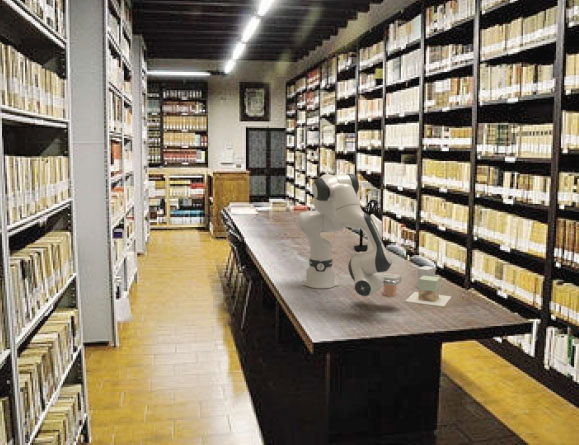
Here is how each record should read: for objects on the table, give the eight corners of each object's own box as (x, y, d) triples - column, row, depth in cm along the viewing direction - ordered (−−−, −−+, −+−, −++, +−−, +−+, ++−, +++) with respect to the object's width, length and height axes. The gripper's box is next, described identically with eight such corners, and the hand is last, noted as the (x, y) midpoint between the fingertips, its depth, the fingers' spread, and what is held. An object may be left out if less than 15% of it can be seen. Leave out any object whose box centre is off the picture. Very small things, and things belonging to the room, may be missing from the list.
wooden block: (418, 299, 263) (418, 289, 262) (422, 295, 270) (422, 285, 269) (435, 301, 259) (435, 291, 259) (438, 297, 266) (439, 287, 266)
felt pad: (405, 301, 261) (405, 300, 261) (414, 292, 277) (414, 291, 277) (444, 307, 253) (444, 306, 253) (451, 297, 269) (451, 296, 269)
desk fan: (383, 254, 370) (385, 201, 365) (357, 254, 370) (358, 201, 365) (376, 246, 397) (378, 197, 392) (352, 246, 396) (353, 197, 391)
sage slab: (418, 289, 262) (419, 279, 261) (422, 285, 269) (423, 275, 268) (435, 291, 259) (436, 281, 258) (439, 287, 266) (439, 277, 265)
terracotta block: (383, 295, 272) (384, 275, 270) (386, 292, 276) (386, 273, 275) (393, 296, 270) (394, 276, 268) (396, 293, 274) (396, 274, 273)
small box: (425, 285, 291) (425, 265, 289) (434, 287, 287) (435, 267, 286) (416, 288, 285) (417, 267, 284) (426, 290, 282) (426, 269, 280)
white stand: (380, 269, 326) (382, 222, 322) (367, 269, 326) (368, 222, 322) (371, 257, 361) (372, 214, 357) (359, 256, 361) (360, 214, 357)
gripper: (397, 276, 243) (405, 269, 255) (353, 271, 252) (363, 265, 264) (396, 290, 244) (405, 283, 256) (352, 284, 253) (362, 278, 265)
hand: (383, 274), depth 260 cm, fingers open, 8 cm apart
